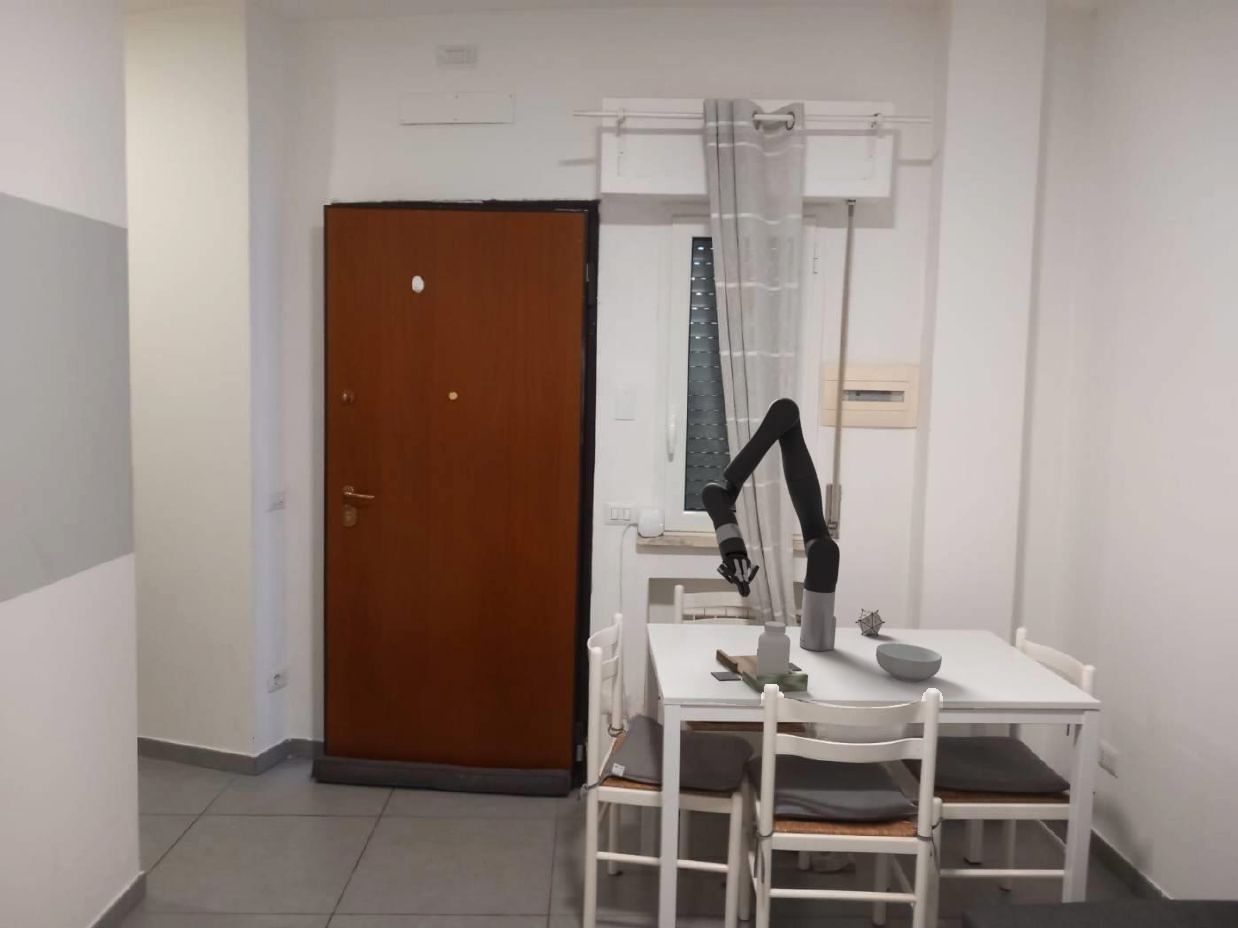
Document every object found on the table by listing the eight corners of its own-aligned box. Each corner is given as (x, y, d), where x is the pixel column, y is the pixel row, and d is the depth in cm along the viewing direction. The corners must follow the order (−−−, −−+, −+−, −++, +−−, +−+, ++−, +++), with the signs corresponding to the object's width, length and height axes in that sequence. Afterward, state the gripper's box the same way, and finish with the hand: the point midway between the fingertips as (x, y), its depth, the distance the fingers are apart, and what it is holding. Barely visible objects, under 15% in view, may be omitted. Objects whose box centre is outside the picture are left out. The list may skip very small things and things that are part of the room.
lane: (781, 656, 248) (782, 642, 248) (829, 689, 221) (831, 674, 221) (694, 658, 241) (695, 644, 241) (733, 693, 214) (734, 677, 214)
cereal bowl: (933, 691, 224) (935, 664, 223) (867, 678, 232) (869, 652, 231) (944, 675, 239) (946, 649, 238) (882, 663, 247) (884, 638, 246)
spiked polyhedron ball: (871, 644, 280) (887, 619, 282) (876, 642, 272) (893, 616, 274) (846, 628, 282) (863, 603, 284) (851, 625, 274) (868, 599, 276)
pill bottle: (756, 675, 227) (759, 618, 226) (787, 678, 226) (791, 621, 225) (755, 684, 220) (759, 626, 219) (788, 688, 218) (792, 629, 217)
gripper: (715, 535, 248) (729, 588, 237) (756, 536, 252) (772, 589, 242) (705, 549, 253) (719, 602, 243) (746, 551, 258) (761, 602, 247)
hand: (745, 595), depth 242 cm, fingers closed
